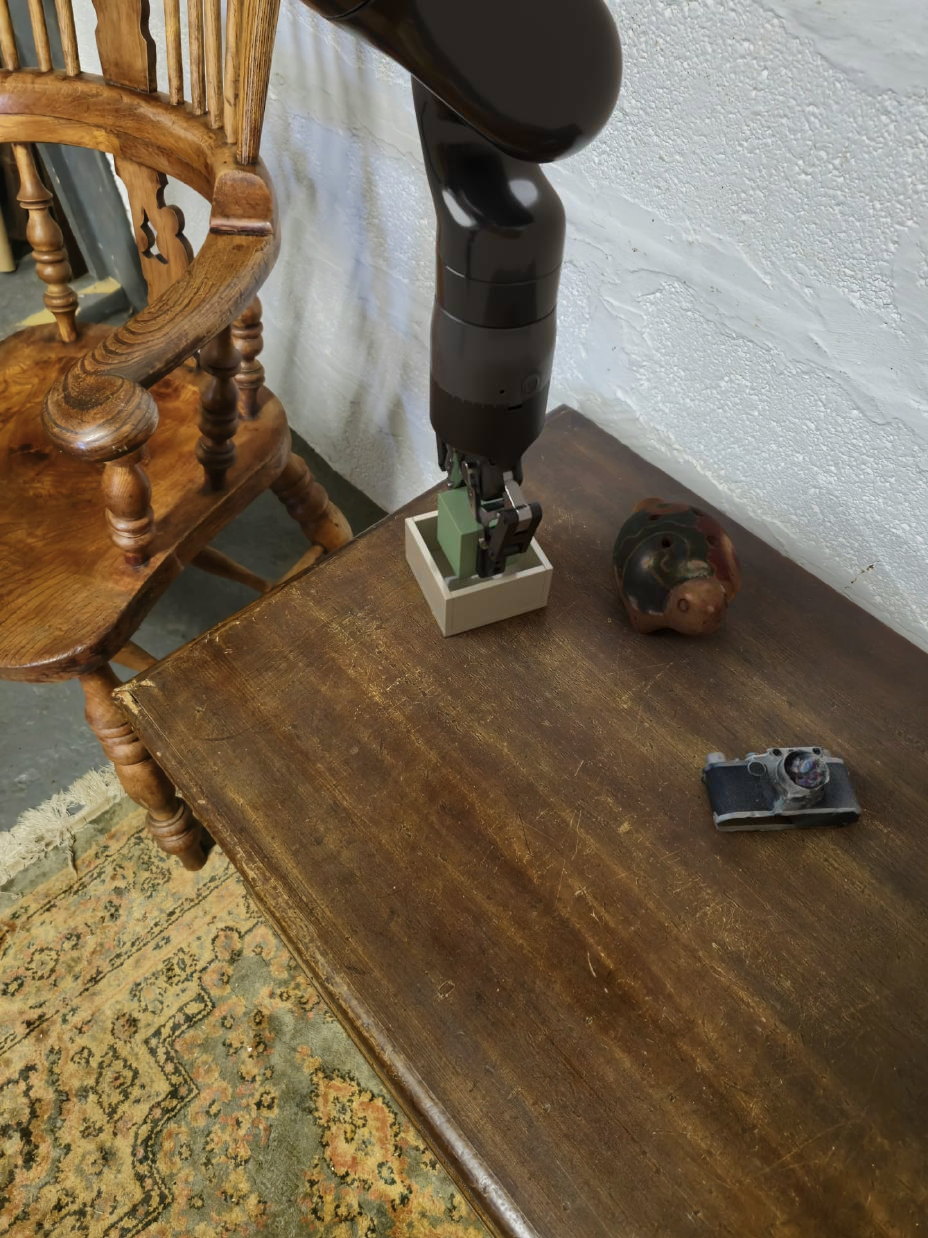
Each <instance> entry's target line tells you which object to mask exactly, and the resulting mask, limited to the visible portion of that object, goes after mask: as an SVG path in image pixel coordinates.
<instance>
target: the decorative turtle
mask: <svg viewBox="0 0 928 1238" xmlns="http://www.w3.org/2000/svg"><path fill="white" fill-rule="evenodd" d="M611 568H612V575H613V579H614V582H615V585H616V588H617V589H618V593H619V596H620V598H621V600H622V602H623V604H624V609H625V611H626V613H627V616H628V619H629V621H630V624H631V627H632V628H633V630H634V631H635V632H637V633H639V634H648V633H651V632H654V631H656V630H659V629H664V628H668V629H672V630H674V631H677V632H678V633H682V634H685V635H689V636H704V635H705V636H706V635H708V634H712V633H714V632H716V631H717V630H718V629H719V628H720V626H721V625H722V623H723V621H724V618H725V616H726V613H727V609H728V607H729V606H730V605H731V604H732V602H733V601H734V600H735V598H736V597H737V595H738V594H739V592H740V589H741V585H742V568H741V562H740V560H739V556H738V552H737V550H736V547H735V545H734V542H733V539H732V538H731V537H730V535H729V533H727V531H726V530H725V528H724V527H723V526H722V525H721V524H720V522H718V521H717V520H716V519H715V518H714V517H713V516H712V515H710V514H709V513H708V512H706V511H705V510H703V509H701V508H698V507H696V506H693V505H690V504H685V503H681V502H666V501H665V499H663V498H660V497H654V496H653V497H647V498H644V499H641V500H640V501H638V502H637V503H636V504H635V505H634V508H633V510H632V515H630V516H629V517H628V518H627V519H626V520H625V521H624V523H623V524H622V525H621V527H620V528H619V530H618V532H617V534H616V537H615V540H614V542H613V547H612V556H611Z"/></svg>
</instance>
